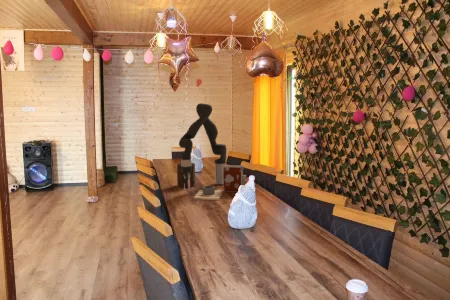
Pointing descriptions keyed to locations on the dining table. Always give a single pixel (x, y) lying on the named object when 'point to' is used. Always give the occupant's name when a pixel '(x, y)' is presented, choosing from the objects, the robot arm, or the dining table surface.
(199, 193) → the mount board
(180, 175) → the wooden container
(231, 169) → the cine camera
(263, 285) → the dining table surface
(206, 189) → the lens barrel
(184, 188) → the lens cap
